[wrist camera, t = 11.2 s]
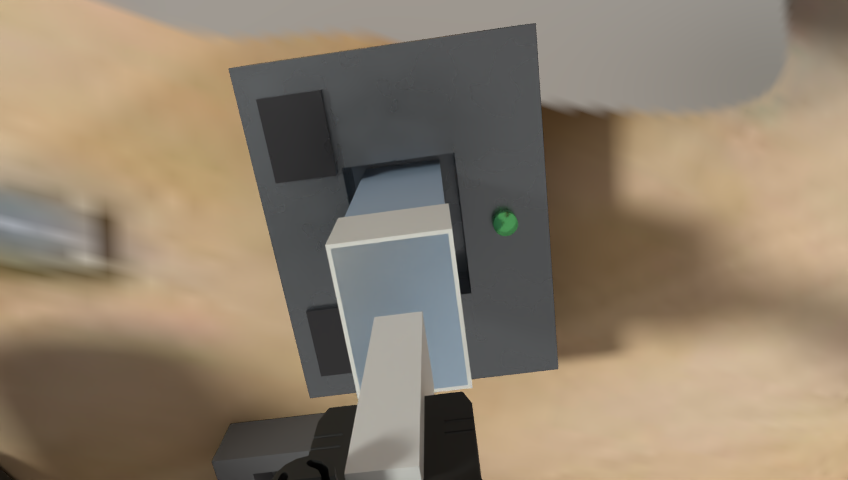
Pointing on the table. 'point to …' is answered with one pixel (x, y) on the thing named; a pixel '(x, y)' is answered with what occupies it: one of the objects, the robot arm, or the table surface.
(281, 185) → the port panel
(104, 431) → the table surface
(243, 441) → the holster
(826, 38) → the table surface
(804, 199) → the table surface
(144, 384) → the table surface
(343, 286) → the plug
